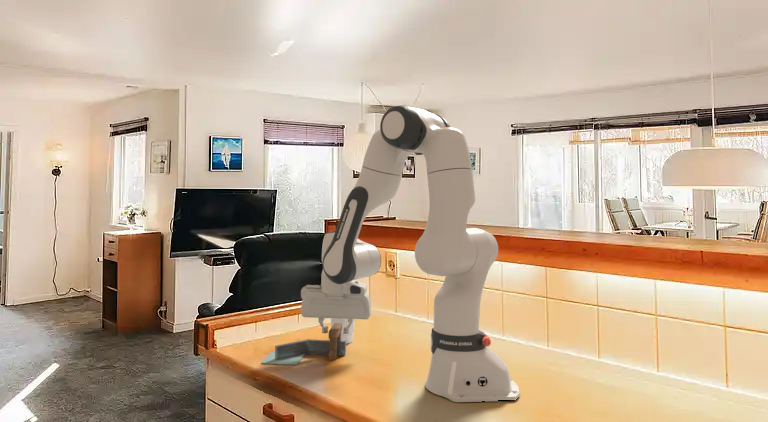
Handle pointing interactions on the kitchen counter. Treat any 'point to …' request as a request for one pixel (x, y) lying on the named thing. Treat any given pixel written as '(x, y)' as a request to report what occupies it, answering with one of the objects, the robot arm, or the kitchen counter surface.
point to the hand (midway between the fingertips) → (335, 333)
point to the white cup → (344, 337)
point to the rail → (308, 348)
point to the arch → (334, 339)
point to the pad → (282, 360)
